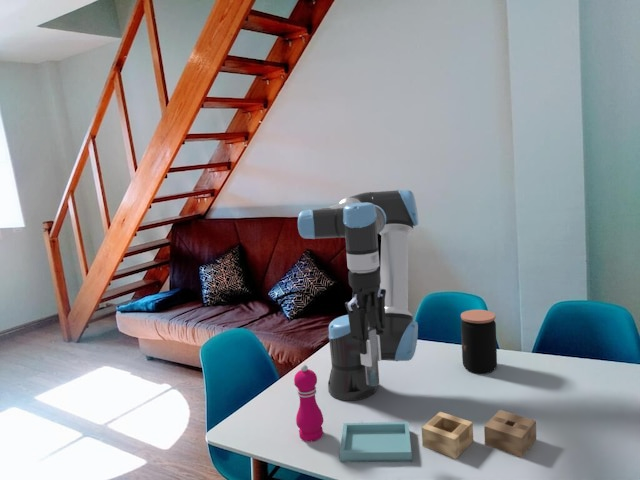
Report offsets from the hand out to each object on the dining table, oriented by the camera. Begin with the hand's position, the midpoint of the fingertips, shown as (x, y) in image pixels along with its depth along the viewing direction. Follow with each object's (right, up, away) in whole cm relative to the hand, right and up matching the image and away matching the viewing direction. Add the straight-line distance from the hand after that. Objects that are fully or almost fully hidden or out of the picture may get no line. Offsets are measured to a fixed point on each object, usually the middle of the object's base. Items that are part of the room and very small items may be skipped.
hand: (371, 362), depth 121 cm
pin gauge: (0, -5, +1) cm, 6 cm away
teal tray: (+2, -22, +4) cm, 22 cm away
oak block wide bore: (+19, -21, +2) cm, 28 cm away
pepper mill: (-15, -22, +11) cm, 29 cm away
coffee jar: (+40, -12, +41) cm, 58 cm away
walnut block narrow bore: (+34, -20, 0) cm, 39 cm away
